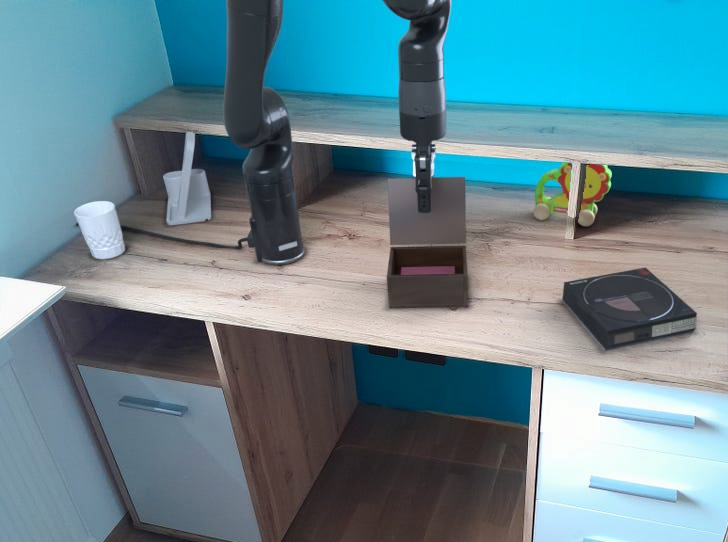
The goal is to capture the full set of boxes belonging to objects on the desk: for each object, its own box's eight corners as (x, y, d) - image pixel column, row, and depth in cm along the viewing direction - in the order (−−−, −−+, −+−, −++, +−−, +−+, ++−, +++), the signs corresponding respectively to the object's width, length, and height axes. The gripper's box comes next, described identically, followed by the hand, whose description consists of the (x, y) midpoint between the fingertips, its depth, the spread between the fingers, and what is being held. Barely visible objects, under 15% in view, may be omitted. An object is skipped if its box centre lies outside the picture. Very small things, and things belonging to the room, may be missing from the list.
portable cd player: (606, 353, 114) (609, 333, 111) (562, 301, 127) (564, 282, 125) (694, 334, 117) (699, 315, 115) (642, 286, 130) (645, 267, 128)
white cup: (112, 240, 152) (97, 198, 147) (136, 248, 149) (122, 205, 143) (81, 255, 147) (65, 212, 141) (106, 264, 144) (90, 219, 138)
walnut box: (467, 307, 126) (467, 275, 122) (389, 308, 127) (386, 276, 123) (465, 276, 135) (465, 245, 131) (392, 277, 136) (390, 246, 132)
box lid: (465, 176, 128) (465, 176, 128) (387, 178, 128) (388, 178, 129) (466, 243, 131) (465, 243, 131) (390, 245, 131) (390, 244, 132)
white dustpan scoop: (169, 196, 171) (149, 123, 160) (211, 191, 173) (194, 119, 162) (166, 226, 158) (145, 148, 147) (212, 219, 160) (194, 142, 149)
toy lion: (531, 220, 155) (535, 153, 145) (537, 210, 159) (542, 144, 150) (603, 229, 150) (611, 161, 141) (607, 219, 154) (616, 152, 145)
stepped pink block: (401, 297, 128) (400, 280, 126) (402, 283, 132) (401, 267, 130) (455, 296, 128) (455, 279, 126) (455, 282, 132) (454, 266, 130)
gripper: (401, 93, 116) (405, 185, 125) (396, 120, 104) (401, 219, 114) (445, 92, 115) (446, 184, 125) (446, 120, 104) (446, 219, 114)
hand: (425, 201), depth 119 cm, fingers open, 8 cm apart
